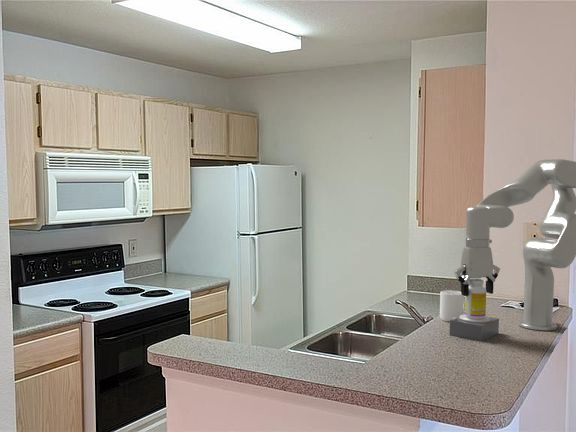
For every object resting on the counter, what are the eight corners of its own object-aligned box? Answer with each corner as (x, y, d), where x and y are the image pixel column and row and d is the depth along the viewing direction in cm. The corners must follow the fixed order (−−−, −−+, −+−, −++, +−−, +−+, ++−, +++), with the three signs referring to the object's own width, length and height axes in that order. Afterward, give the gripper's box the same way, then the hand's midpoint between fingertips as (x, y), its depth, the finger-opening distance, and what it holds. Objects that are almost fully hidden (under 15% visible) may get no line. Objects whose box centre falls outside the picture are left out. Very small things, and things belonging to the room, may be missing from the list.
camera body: (467, 327, 205) (468, 311, 205) (498, 333, 198) (499, 316, 197) (449, 334, 195) (449, 317, 194) (481, 341, 187) (481, 323, 187)
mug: (456, 315, 224) (457, 288, 223) (474, 319, 217) (475, 292, 216) (434, 318, 217) (435, 291, 217) (452, 323, 210) (452, 295, 210)
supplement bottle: (489, 318, 194) (491, 280, 194) (475, 320, 191) (476, 282, 191) (474, 314, 200) (476, 277, 200) (460, 316, 197) (461, 278, 196)
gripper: (492, 241, 201) (491, 290, 202) (448, 243, 195) (448, 294, 197) (506, 243, 194) (506, 294, 195) (462, 246, 188) (461, 298, 189)
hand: (477, 294), depth 196 cm, fingers open, 9 cm apart
